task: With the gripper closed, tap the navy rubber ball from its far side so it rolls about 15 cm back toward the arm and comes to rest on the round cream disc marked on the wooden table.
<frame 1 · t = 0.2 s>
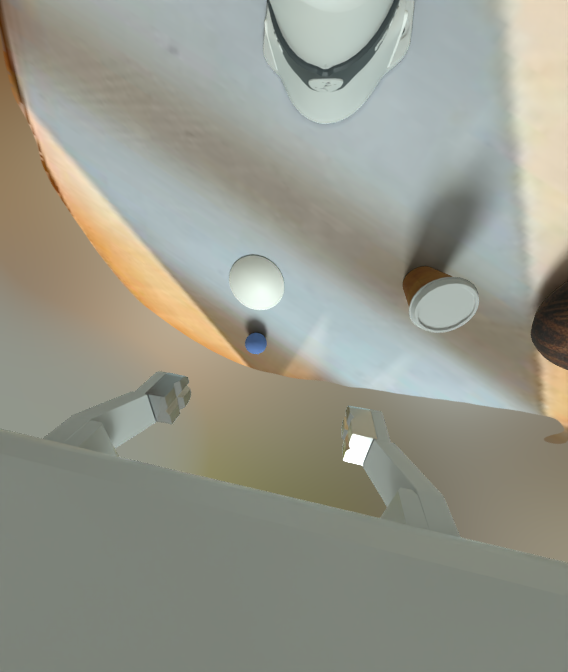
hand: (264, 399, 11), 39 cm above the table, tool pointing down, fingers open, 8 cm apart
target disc: (256, 284, 50), on the table
ball: (255, 343, 56), on the table
disposable coffee cup: (419, 281, 44), on the table
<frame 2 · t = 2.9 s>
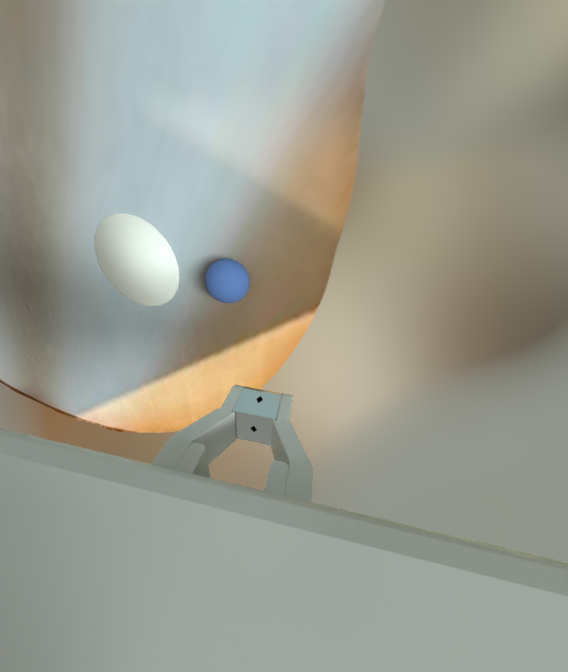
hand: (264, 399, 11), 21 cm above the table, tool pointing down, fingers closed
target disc: (137, 264, 32), on the table
ball: (227, 281, 28), on the table
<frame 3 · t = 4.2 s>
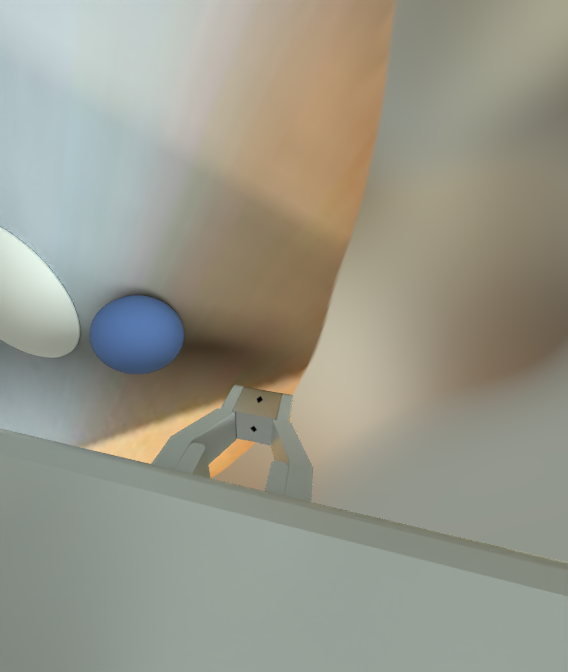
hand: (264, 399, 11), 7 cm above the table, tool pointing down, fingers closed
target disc: (9, 295, 19), on the table
ball: (141, 334, 15), on the table
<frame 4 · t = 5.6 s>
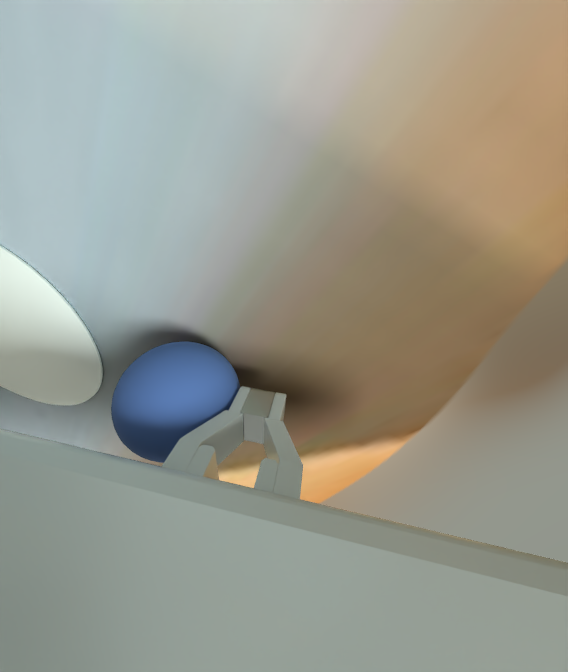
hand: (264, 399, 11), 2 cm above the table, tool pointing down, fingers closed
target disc: (5, 331, 14), on the table
ball: (183, 397, 11), on the table, touching gripper
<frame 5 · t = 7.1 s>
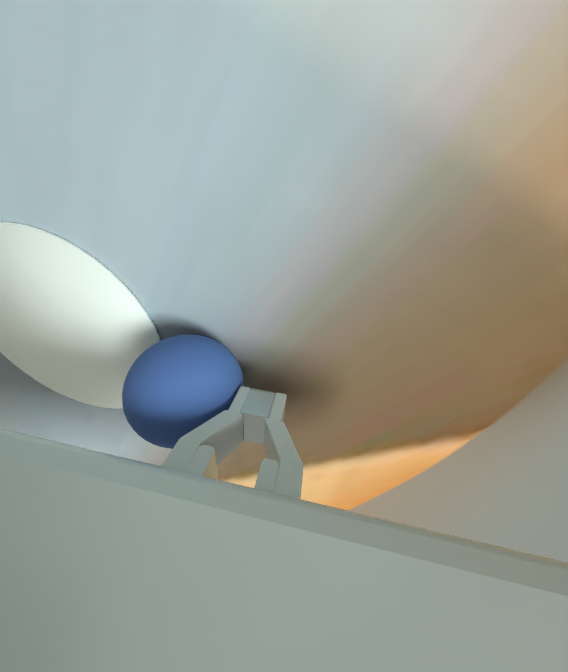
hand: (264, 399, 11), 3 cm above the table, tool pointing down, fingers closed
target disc: (68, 335, 14), on the table
ball: (189, 388, 11), on the table, touching gripper
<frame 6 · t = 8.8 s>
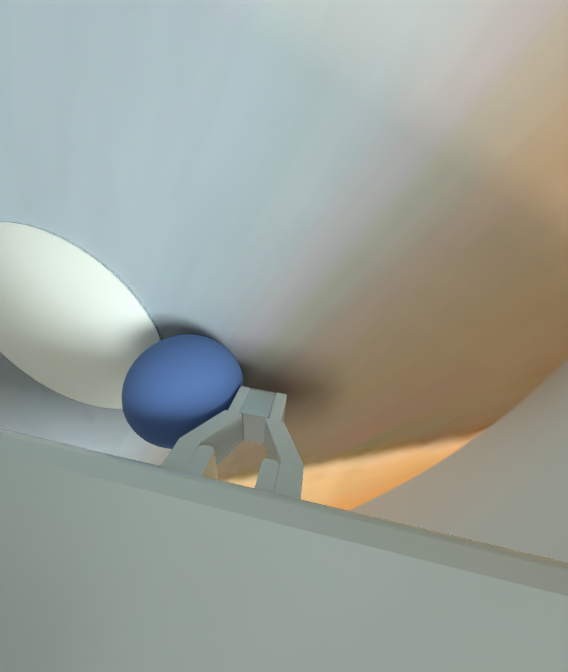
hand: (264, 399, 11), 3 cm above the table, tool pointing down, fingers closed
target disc: (68, 335, 14), on the table
ball: (188, 388, 11), on the table, touching gripper
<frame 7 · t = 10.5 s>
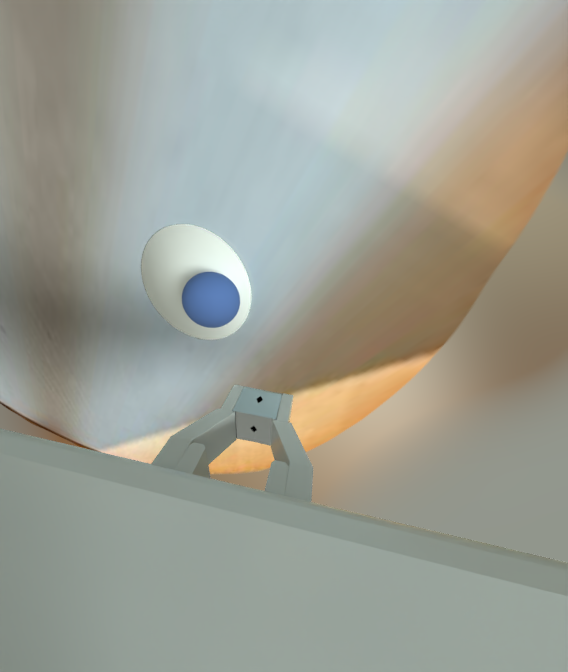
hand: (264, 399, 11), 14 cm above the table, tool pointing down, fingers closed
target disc: (196, 288, 24), on the table
ball: (212, 300, 22), on the table
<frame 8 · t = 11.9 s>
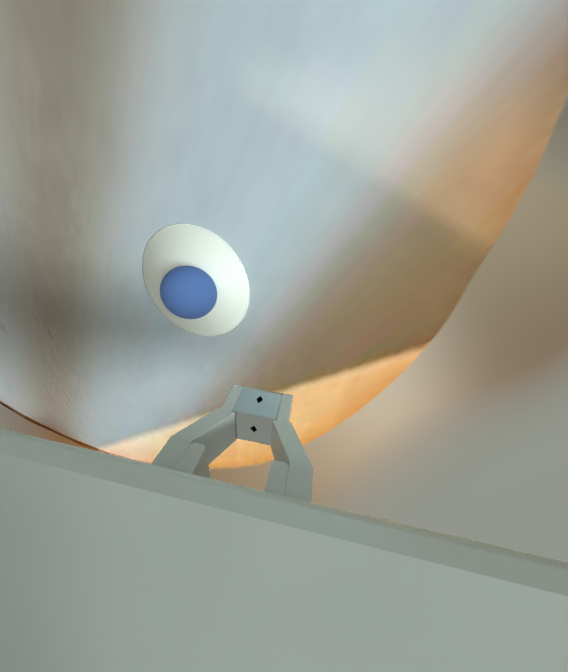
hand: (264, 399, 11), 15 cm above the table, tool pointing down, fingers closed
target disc: (196, 286, 25), on the table
ball: (189, 293, 23), on the table
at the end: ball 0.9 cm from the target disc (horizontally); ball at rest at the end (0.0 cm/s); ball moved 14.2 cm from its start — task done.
